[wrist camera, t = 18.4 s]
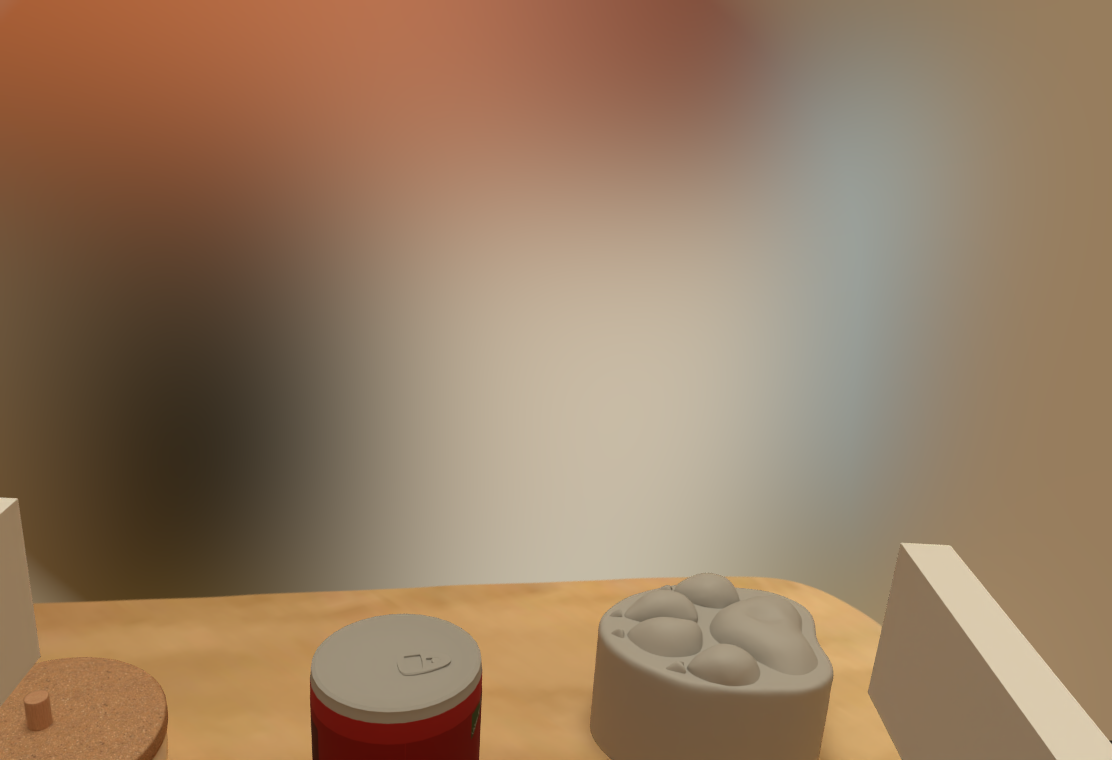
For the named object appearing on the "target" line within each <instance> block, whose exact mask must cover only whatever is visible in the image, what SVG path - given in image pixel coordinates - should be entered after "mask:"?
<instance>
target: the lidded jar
mask: <svg viewBox="0 0 1112 760" xmlns="http://www.w3.org/2000/svg"><path fill="white" fill-rule="evenodd" d="M167 724H168V710H167V703H166V697H165V694H164V692H163V690H162V688H161V686H160V685H159V683H158V682H157V681H156V680H155V679H154V678H153V677H152V676H150V675H149V674H148V673H146V672H145V671H144V670H142V669H140V668H138V667H135V666H133V665H131V664H128V663H125V662H121V661H118V660H112V659H105V658H92V657H79V658H65V659H57V660H49V661H45V662H40V663H35V664H34V665H33V667H32V668H31V669H30V670H29V672H28V673H27V674H26V675H25V677H24V678H23V679H22V680H21V682H20V683H19V684H18V685H17V687H16V688H15V689H14V690H13V692H12V693H11V694H10V695H9V697H8V698H7V699H6V700H5V702H4V703H3V704H2V705H1V707H0V760H168V738H167Z"/></svg>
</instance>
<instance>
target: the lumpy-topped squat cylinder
mask: <svg viewBox="0 0 1112 760" xmlns="http://www.w3.org/2000/svg"><path fill="white" fill-rule="evenodd" d="M832 681H833V667H832V664H831V662H830V660H829V658H828V657H827V655H826V654H825V652H824V651H823V649H822V648H821V647H820V645H819V643H818V641H817V638H816V630H815V623H814V620H813V617H812V615H811V614H810V612H809V611H808V610H807V609H806V608H805V607H803V606H802V605H800V604H799V603H797V602H795V601H793V600H790V599H788V598H786V597H783V596H781V595H778V594H774V593H770V592H766V591H761V590H753V589H744V588H735V587H734V586H733V584H732V583H731V582H730V581H729V580H728V579H727V578H725V577H723V576H721V575H717V574H713V573H701V574H697V575H694V576H691V577H689V578H687V579H685V580H684V581H682V582H680V583H679V584H678V585H674V586H669V585H666V586H663V587H661V588H658V589H654V590H650V591H646V592H642V593H639V594H635V595H632V596H630V597H628V598H626V599H624V600H622V601H620V602H619V603H617V604H616V605H614V606H613V607H612V608H610V609H609V610H608V611H607V612H606V613H605V614H604V615H603V617H602V618H601V621H600V624H599V629H598V642H597V653H596V664H595V673H594V685H593V697H592V709H591V721H590V730H591V734H592V736H593V739H594V740H595V742H596V743H597V745H598V746H599V747H600V748H601V750H602V751H603V752H604V753H605V754H606V755H607V756H608V757H610V758H611V759H612V760H818V759H819V753H820V748H821V742H822V737H823V732H824V726H825V721H826V715H827V710H828V704H829V697H830V690H831V685H832Z"/></svg>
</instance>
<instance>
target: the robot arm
mask: <svg viewBox="0 0 1112 760" xmlns="http://www.w3.org/2000/svg"><path fill="white" fill-rule="evenodd" d="M39 658H40V650H39V643H38V636H37V629H36V622H35V615H34V608H33V601H32V594H31V587H30V580H29V574H28V566H27V559H26V552H25V546H24V538H23V531H22V525H21V518H20V511H19V504H18V499H15V498H0V707H1V705H2V704H3V703H4V702H5V700H6V699H7V698H8V697H9V695H10V694H11V693H12V692H13V690H14V689H15V688H16V687H17V685H18V684H19V683H20V682H21V680H22V679H23V678H24V677H25V675H26V674H27V673H28V672H29V670H30V669H31V668H32V667H33V665H34V664H35V663H36V662H37V660H38V659H39ZM868 694H869V696H870V698H871V700H872V702H873V704H874V706H875V708H876V709H877V711H878V713H879V715H880V717H881V719H882V721H883V723H884V725H885V727H886V729H887V731H888V733H889V735H890V737H891V739H892V741H893V743H894V745H895V747H896V749H897V751H898V753H899V755H900V757H901V759H902V760H1112V741H1109V740H1108V739H1107V738H1106V737H1105V735H1104V734H1103V733H1102V732H1101V730H1100V729H1099V728H1098V727H1097V726H1096V724H1095V723H1094V722H1093V721H1092V719H1091V718H1090V717H1089V716H1088V714H1087V713H1086V712H1085V711H1084V709H1083V708H1082V707H1081V706H1080V705H1079V703H1078V702H1077V701H1076V700H1075V698H1074V697H1073V696H1072V695H1071V693H1070V692H1069V691H1068V690H1067V689H1066V687H1065V686H1064V685H1063V684H1062V683H1061V681H1060V680H1059V679H1058V677H1057V676H1056V675H1055V674H1054V673H1053V671H1052V670H1051V669H1050V668H1049V666H1048V665H1047V664H1046V663H1045V661H1044V660H1043V659H1042V658H1041V657H1040V655H1039V654H1038V653H1037V652H1036V651H1035V649H1034V648H1033V647H1032V646H1031V644H1030V643H1029V642H1028V641H1027V639H1026V638H1025V637H1024V636H1023V634H1022V633H1021V632H1020V631H1019V630H1018V628H1017V627H1016V626H1015V625H1014V623H1013V622H1012V621H1011V620H1010V618H1009V617H1008V616H1007V615H1006V613H1005V612H1004V611H1003V610H1002V609H1001V607H1000V606H999V605H998V604H997V602H996V601H995V600H994V599H993V597H992V596H991V595H990V594H989V593H988V591H987V590H986V589H985V588H984V586H983V585H982V584H981V583H980V581H979V580H978V579H977V578H976V577H975V575H974V574H973V573H972V572H971V570H970V569H969V568H968V567H967V565H966V564H965V563H964V562H963V561H962V559H961V558H960V557H959V556H958V555H957V553H956V552H955V551H954V549H953V548H952V547H951V546H950V545H932V544H931V545H930V544H912V543H901V544H900V549H899V553H898V558H897V562H896V567H895V571H894V576H893V581H892V585H891V590H890V594H889V599H888V604H887V608H886V612H885V617H884V621H883V626H882V630H881V635H880V640H879V644H878V649H877V653H876V658H875V662H874V667H873V671H872V676H871V680H870V685H869V689H868Z"/></svg>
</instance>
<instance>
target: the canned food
mask: <svg viewBox="0 0 1112 760" xmlns="http://www.w3.org/2000/svg"><path fill="white" fill-rule="evenodd" d="M481 701H482V663H481V653H480V649H479V647H478V645H477V643H476V641H475V640H474V639H473V638H472V637H471V636H470V634H468V633H467V632H466V631H464V630H463V629H462V628H460V627H458V626H456V625H454V624H452V623H450V622H448V621H445V620H442V619H439V618H435V617H430V616H425V615H416V614H390V615H383V616H376V617H372V618H368V619H364V620H360V621H358V622H355V623H352V624H350V625H347V626H345V627H344V628H342V629H340V630H338V631H336V632H335V633H333V634H332V635H331V636H329V637H328V638H327V639H326V640H325V641H324V642H323V643H322V644H321V645H320V646H319V647H318V648H317V650H316V652H315V654H314V656H313V659H312V665H311V675H310V707H311V732H312V757H313V760H479V747H480V724H481Z"/></svg>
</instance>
